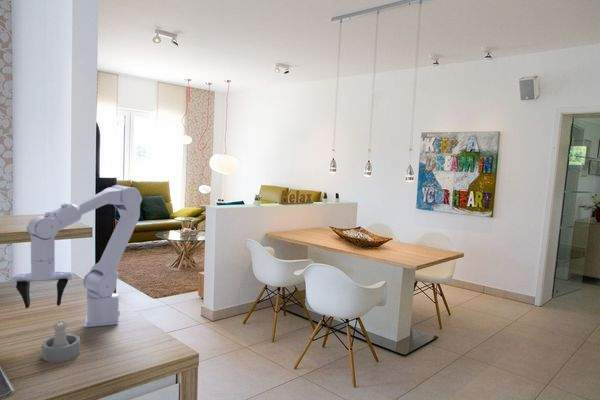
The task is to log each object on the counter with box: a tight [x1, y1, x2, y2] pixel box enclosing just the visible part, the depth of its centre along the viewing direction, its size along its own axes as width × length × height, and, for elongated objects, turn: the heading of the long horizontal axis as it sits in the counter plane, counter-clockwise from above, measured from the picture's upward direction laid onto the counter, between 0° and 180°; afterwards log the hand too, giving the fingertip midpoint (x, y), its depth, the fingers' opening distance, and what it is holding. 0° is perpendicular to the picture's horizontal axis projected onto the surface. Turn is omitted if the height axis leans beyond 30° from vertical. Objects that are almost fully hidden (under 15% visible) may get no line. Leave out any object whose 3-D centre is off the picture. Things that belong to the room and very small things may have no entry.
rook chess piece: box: [51, 320, 69, 347], centre depth 111 cm, size 4×4×8 cm
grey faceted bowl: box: [41, 333, 81, 363], centre depth 111 cm, size 9×9×4 cm
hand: (43, 305), depth 119 cm, fingers open, 7 cm apart
